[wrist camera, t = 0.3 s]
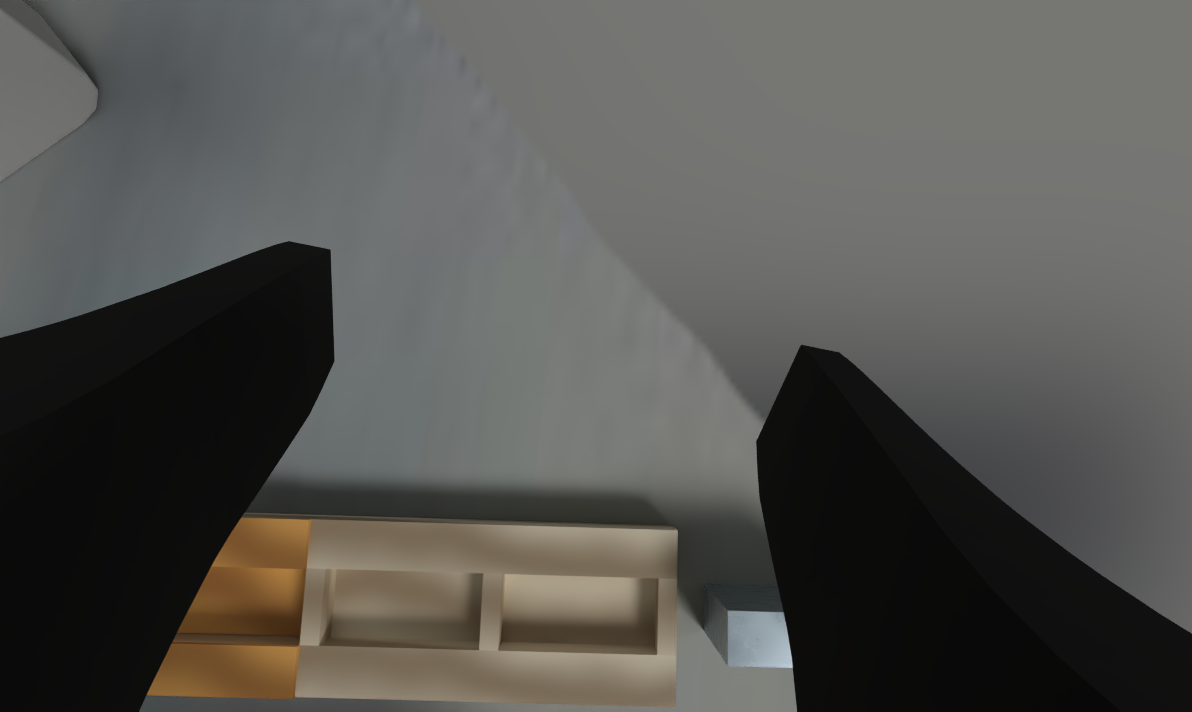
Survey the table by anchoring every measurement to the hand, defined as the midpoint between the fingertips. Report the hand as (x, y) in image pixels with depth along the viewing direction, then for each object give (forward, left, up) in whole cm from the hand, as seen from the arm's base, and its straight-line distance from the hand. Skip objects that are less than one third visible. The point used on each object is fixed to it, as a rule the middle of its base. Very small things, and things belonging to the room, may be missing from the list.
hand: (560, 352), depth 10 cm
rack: (-10, +9, -29) cm, 32 cm away
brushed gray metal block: (-10, -11, -29) cm, 33 cm away
